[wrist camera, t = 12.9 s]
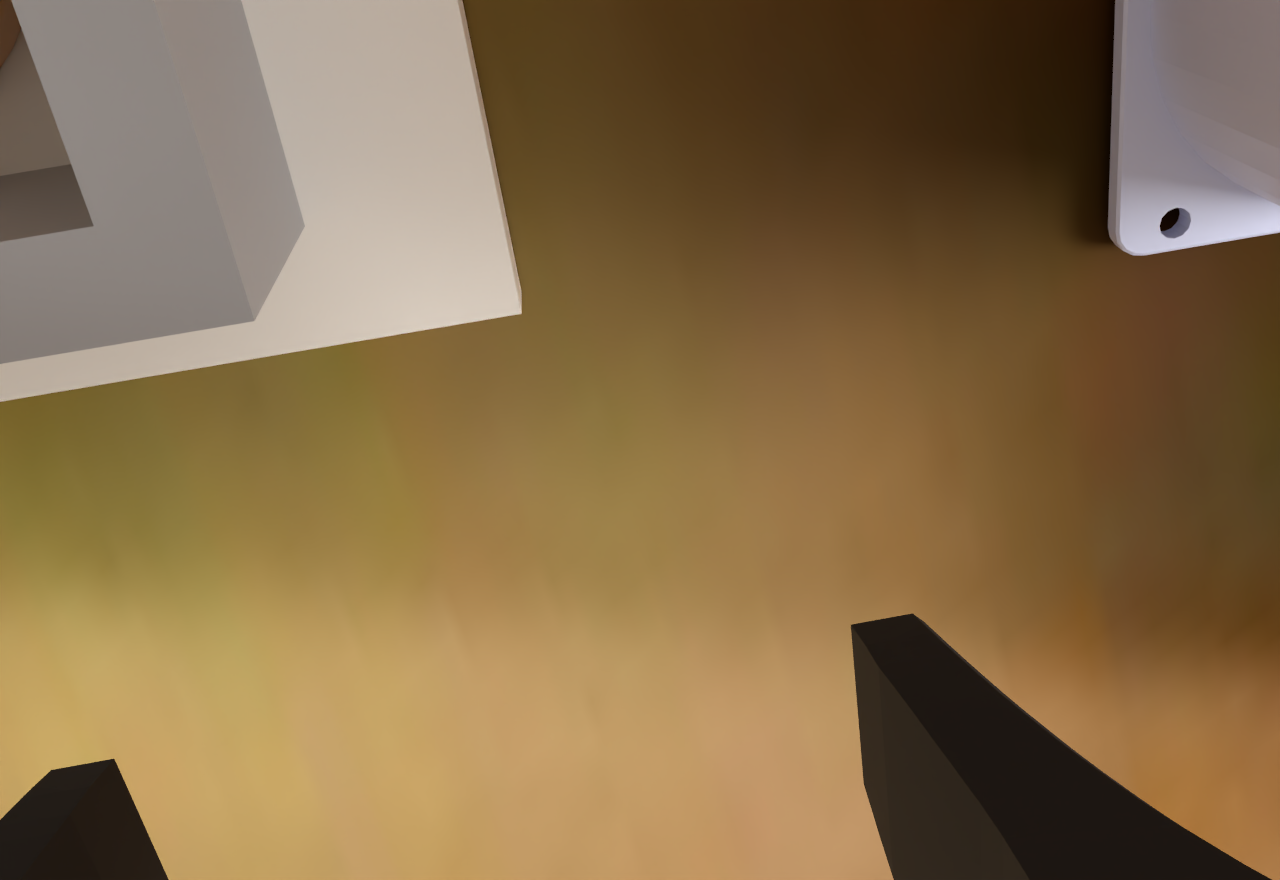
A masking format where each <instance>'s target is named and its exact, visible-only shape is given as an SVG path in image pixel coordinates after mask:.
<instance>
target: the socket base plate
mask: <svg viewBox="0 0 1280 880" xmlns="http://www.w3.org/2000/svg"><path fill="white" fill-rule="evenodd" d="M11 1H12V4H13V7H14V9H15V12H16V15H17V18H18V20H19V23H20V26H21V30H20V33H19V35H18V38H17V40H16V42H15V45H14V47H13V49H12V51H11V52H10V54H9V55H8V57H7V59H6V60H5V62H4V64H3V65H2V67H1V68H0V402H1V401H7V400H13V399H19V398H25V397H31V396H37V395H43V394H49V393H55V392H61V391H67V390H73V389H78V388H84V387H90V386H96V385H102V384H108V383H114V382H120V381H126V380H132V379H138V378H144V377H150V376H155V375H161V374H167V373H173V372H179V371H185V370H191V369H197V368H203V367H209V366H215V365H221V364H227V363H232V362H238V361H244V360H250V359H256V358H262V357H268V356H274V355H280V354H286V353H292V352H298V351H304V350H309V349H315V348H321V347H327V346H333V345H339V344H345V343H351V342H357V341H363V340H369V339H375V338H381V337H386V336H392V335H398V334H404V333H410V332H416V331H422V330H428V329H434V328H440V327H446V326H452V325H458V324H463V323H469V322H475V321H481V320H487V319H493V318H499V317H505V316H511V315H517V314H522V292H521V287H520V282H519V277H518V272H517V267H516V262H515V257H514V252H513V247H512V242H511V237H510V232H509V228H508V223H507V218H506V213H505V208H504V203H503V198H502V193H501V188H500V183H499V178H498V173H497V168H496V163H495V159H494V154H493V149H492V144H491V139H490V134H489V129H488V124H487V119H486V114H485V109H484V104H483V99H482V94H481V89H480V85H479V80H478V75H477V70H476V65H475V60H474V55H473V50H472V45H471V40H470V35H469V30H468V25H467V20H466V16H465V11H464V6H463V1H462V0H11Z"/></svg>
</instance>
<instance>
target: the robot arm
mask: <svg viewBox="0 0 1280 880" xmlns="http://www.w3.org/2000/svg"><path fill="white" fill-rule="evenodd" d="M1174 208H1179V212H1180V215H1179V218H1178V221H1177V222H1176V224H1175V225H1174V226H1173V227H1172V228H1170V229H1168V230H1166V231H1161V230H1160V223H1161V220H1162V217H1163V216H1164V215H1165V214H1166V213H1167V212H1168V211H1170V210H1172V209H1174ZM1108 231H1109V236H1110V238H1111V240H1112V241H1113V242H1114V244H1115V245H1116V246H1117V247H1119V248H1120V249H1121V250H1123V251H1125V252H1127V253H1129V254H1131V255H1149V254H1155V253H1161V252H1167V251H1173V250H1179V249H1185V248H1191V247H1196V246H1202V245H1208V244H1214V243H1220V242H1226V241H1232V240H1238V239H1244V238H1250V237H1256V236H1261V235H1267V234H1273V233H1279V232H1280V0H1115V23H1114V54H1113V84H1112V115H1111V145H1110V176H1109V207H1108ZM851 632H852V644H853V657H854V669H855V681H856V693H857V705H858V718H859V730H860V742H861V754H862V766H863V778H864V786H865V789H866V792H867V795H868V799H869V802H870V805H871V808H872V812H873V815H874V818H875V822H876V825H877V828H878V831H879V835H880V838H881V841H882V844H883V847H884V850H885V854H886V857H887V860H888V863H889V866H890V869H891V872H892V875H893V878H894V880H1271V879H1269V878H1268V877H1266V876H1264V875H1262V874H1260V873H1259V872H1257V871H1255V870H1253V869H1251V868H1250V867H1248V866H1246V865H1244V864H1243V863H1241V862H1239V861H1238V860H1236V859H1234V858H1233V857H1231V856H1229V855H1228V854H1226V853H1224V852H1223V851H1221V850H1219V849H1218V848H1216V847H1214V846H1213V845H1211V844H1210V843H1208V842H1206V841H1205V840H1203V839H1201V838H1200V837H1198V836H1196V835H1195V834H1193V833H1191V832H1190V831H1188V830H1186V829H1185V828H1183V827H1182V826H1180V825H1179V824H1177V823H1175V822H1174V821H1172V820H1171V819H1169V818H1168V817H1166V816H1165V815H1163V814H1162V813H1160V812H1159V811H1157V810H1156V809H1154V808H1153V807H1152V806H1150V805H1149V804H1147V803H1146V802H1144V801H1143V800H1141V799H1140V798H1138V797H1137V796H1136V795H1134V794H1133V793H1131V792H1130V791H1129V790H1127V789H1126V788H1124V787H1123V786H1122V785H1120V784H1119V783H1117V782H1116V781H1115V780H1113V779H1112V778H1110V777H1109V776H1108V775H1106V774H1105V773H1103V772H1102V771H1101V770H1099V769H1098V768H1097V767H1095V766H1094V765H1093V764H1091V763H1090V762H1089V761H1087V760H1086V759H1085V758H1083V757H1082V756H1081V755H1079V754H1078V753H1077V752H1075V751H1074V750H1073V749H1071V748H1070V747H1069V746H1068V745H1066V744H1065V743H1064V742H1063V741H1061V740H1060V739H1059V738H1058V737H1056V736H1055V735H1054V734H1053V733H1051V732H1050V731H1049V730H1048V729H1046V728H1045V727H1044V726H1043V725H1041V724H1040V723H1039V722H1038V721H1036V720H1035V719H1034V718H1033V717H1031V716H1030V715H1029V714H1028V713H1026V712H1025V711H1024V710H1023V709H1021V708H1020V707H1019V706H1018V705H1017V704H1016V703H1014V702H1013V701H1012V700H1011V699H1010V698H1008V697H1007V696H1006V695H1005V694H1004V693H1002V692H1001V691H1000V690H999V689H998V688H997V687H996V686H994V685H993V684H992V683H991V682H990V681H989V680H988V679H986V678H985V677H984V676H983V675H982V674H981V673H979V672H978V671H977V670H976V669H975V668H974V667H973V666H972V665H970V664H969V663H968V662H967V661H966V660H965V659H964V658H963V657H962V656H960V655H959V654H958V653H957V652H956V651H955V650H954V649H953V648H952V647H951V646H949V645H948V644H947V643H946V642H945V641H944V640H943V639H942V638H941V637H940V636H939V635H938V634H936V633H935V632H934V631H933V630H932V629H931V628H930V627H929V626H928V625H927V624H926V623H925V622H923V621H922V620H921V619H919V618H918V617H916V616H915V615H914V614H908V615H902V616H897V617H891V618H886V619H880V620H875V621H869V622H864V623H858V624H853V625H851ZM0 880H168V878H167V875H166V873H165V871H164V869H163V867H162V864H161V862H160V860H159V858H158V855H157V853H156V851H155V849H154V846H153V844H152V842H151V840H150V838H149V835H148V833H147V831H146V829H145V826H144V824H143V822H142V820H141V817H140V815H139V813H138V811H137V809H136V806H135V804H134V802H133V800H132V797H131V795H130V793H129V791H128V788H127V786H126V784H125V782H124V780H123V777H122V775H121V773H120V771H119V768H118V766H117V764H116V762H115V760H114V759H110V760H105V761H99V762H94V763H88V764H83V765H77V766H72V767H66V768H61V769H55V770H51V771H50V772H49V773H48V774H47V775H46V776H45V777H43V778H42V779H41V780H40V781H39V782H38V783H37V784H36V785H35V786H34V787H33V788H32V789H31V790H30V791H29V792H28V793H27V794H26V795H25V796H24V797H23V798H22V799H21V800H20V801H19V802H18V803H17V804H16V805H15V806H14V807H13V808H12V809H11V810H10V811H9V812H8V813H7V814H6V815H5V816H4V817H3V818H2V819H1V820H0Z"/></svg>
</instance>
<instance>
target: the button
mask: <svg viewBox="0 0 1280 880" xmlns="http://www.w3.org/2000/svg"><path fill="white" fill-rule="evenodd" d="M20 30H21V26H20V23H19V20H18V18H17V15H16V12H15V9H14V7H13V4H12V1H11V0H0V68H1V67H2V65H3V64H4V62H5V60H6V59H7V57H8V55H9V54H10V52H11V51H12V49H13V47H14V45H15V42H16V40H17V38H18V35H19V33H20Z"/></svg>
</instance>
